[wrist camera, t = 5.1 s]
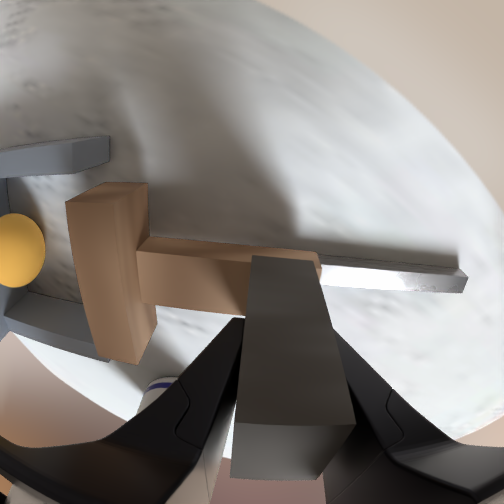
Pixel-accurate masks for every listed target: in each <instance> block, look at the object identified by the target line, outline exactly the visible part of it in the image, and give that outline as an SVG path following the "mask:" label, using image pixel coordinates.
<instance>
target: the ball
mask: <svg viewBox="0 0 504 504" xmlns="http://www.w3.org/2000/svg"><path fill="white" fill-rule="evenodd" d="M44 259H45V241H44V237H43V235H42V232H41V230H40V229H39V227H38V226H37V224H36V223H35V222H34V221H33V220H32V219H30V218H29V217H27V216H25V215H22V214H17V213H11V214H7V215H4V216H2V217H0V284H2V285H4V286H8V287H21V286H24V285H26V284H28V283H30V282H31V281H32V280H34V279H35V278H36V276H37V275H38V274H39V272H40V270H41V268H42V266H43V263H44Z"/></svg>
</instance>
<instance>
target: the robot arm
mask: <svg viewBox="0 0 504 504" xmlns="http://www.w3.org/2000/svg"><path fill="white" fill-rule="evenodd" d="M244 326H245V318H236V317H234V318H232V319H231V320H230V321H229V323H228V324H227V325H226V326H225V327H224V328H223V329H222V330H221V331H220V332H219V334H218V335H217V336H216V337H215V338H214V339H213V340H212V341H211V342H210V343H209V344H208V346H207V347H206V348H205V349H204V350H203V351H202V352H201V353H200V354H199V355H198V356H197V357H196V359H195V360H194V361H193V362H192V363H191V364H190V365H189V366H188V367H187V368H186V369H185V370H184V371H183V372H182V374H181V375H180V376H179V377H178V378H177V379H176V380H175V381H174V382H173V383H172V384H171V385H170V386H169V387H168V388H167V389H166V390H165V391H164V392H163V393H162V394H161V395H160V396H159V397H158V398H157V399H156V400H154V401H153V402H152V403H151V404H150V405H148V406H147V407H146V408H145V409H143V410H142V411H141V412H139V413H138V414H137V415H136V416H134V417H133V418H132V419H130V420H129V421H128V422H126V423H125V424H124V425H122V426H121V427H120V428H118V429H117V430H116V431H114V432H113V433H111V434H110V435H108V436H106V437H104V438H102V439H99V440H96V441H92V442H86V443H79V444H71V445H62V446H53V447H42V448H29V447H22V446H19V445H16V444H14V443H11V442H10V441H8V440H6V439H5V438H3V437H2V436H0V474H1V475H2V476H4V477H5V478H6V479H7V480H9V481H10V482H11V483H12V484H13V485H12V487H11V489H10V491H9V494H8V496H6V495H4V494H3V493H1V492H0V504H210V503H209V502H210V500H211V497H212V493H213V489H214V485H215V481H216V478H217V474H218V470H219V467H220V463H221V458H222V455H223V451H224V447H225V443H226V440H227V436H228V432H229V428H230V424H231V420H232V416H233V412H234V408H235V404H236V400H237V392H238V382H239V373H240V364H241V354H242V345H243V335H244ZM333 331H334V334H335V338H336V342H337V346H338V349H339V353H340V357H341V361H342V365H343V369H344V373H345V377H346V381H347V385H348V389H349V394H350V398H351V402H352V406H353V411H354V415H355V420H356V425H355V427H354V428H353V430H352V432H351V433H350V435H349V436H348V437H347V439H346V440H345V442H344V443H343V445H342V446H341V448H340V449H339V450H338V452H337V453H336V455H335V456H334V457H333V459H332V460H331V461H330V463H329V464H328V465H327V467H326V468H325V469H324V471H323V479H324V488H325V497H326V504H504V447H487V446H473V445H466V444H461V443H459V442H456V441H455V440H453V439H451V438H450V437H448V436H447V435H446V434H445V433H443V432H442V431H441V430H440V429H438V428H437V427H436V426H435V425H433V424H432V423H431V422H430V421H428V420H427V419H426V418H425V417H423V416H422V415H421V414H420V413H419V412H418V411H416V410H415V409H414V408H413V407H412V406H411V405H410V404H409V403H407V402H406V401H405V400H404V399H403V398H402V397H401V396H400V395H399V394H398V393H397V392H396V391H395V390H394V389H392V387H391V386H390V385H389V384H388V383H387V382H386V381H385V380H384V379H383V378H382V377H381V376H380V375H379V374H378V373H377V372H376V371H375V370H374V369H373V368H372V367H371V366H370V365H369V364H368V363H367V362H366V361H365V360H364V359H363V358H362V357H361V356H360V355H359V354H358V353H357V352H356V351H355V350H354V349H353V348H352V347H351V346H350V345H349V344H348V343H347V342H346V341H345V340H344V339H343V338H342V337H341V336H340V335H339V334H338V333H337V332H336V331H335V330H334V329H333Z"/></svg>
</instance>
